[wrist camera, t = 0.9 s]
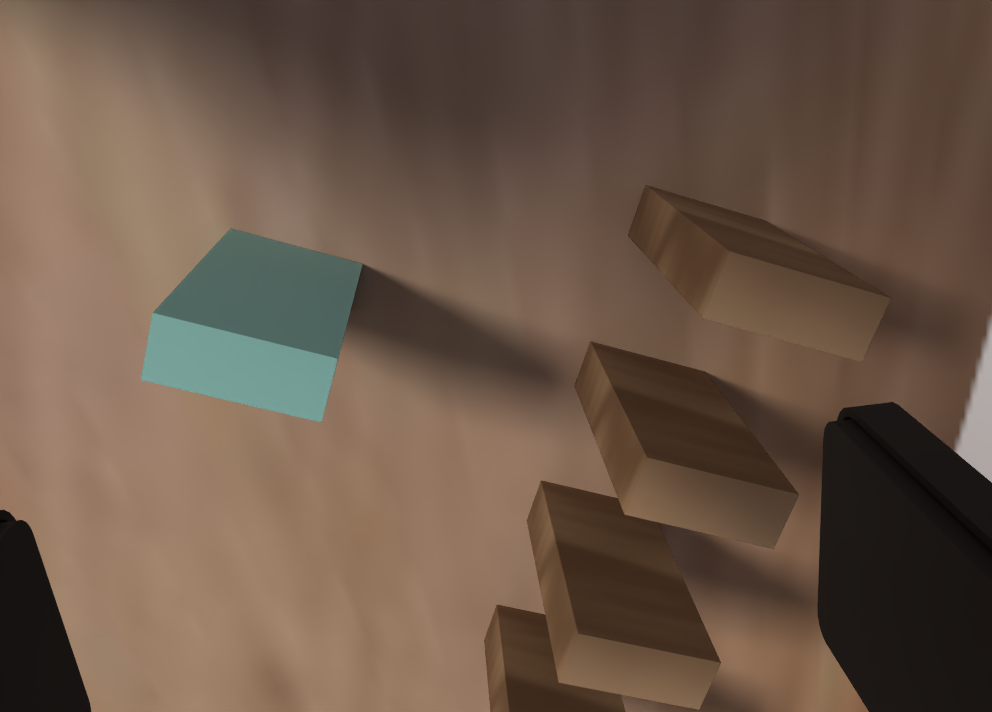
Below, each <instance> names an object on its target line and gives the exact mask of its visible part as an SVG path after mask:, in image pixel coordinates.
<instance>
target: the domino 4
mask: <svg viewBox="0 0 992 712" xmlns="http://www.w3.org/2000/svg"><path fill="white" fill-rule="evenodd" d="M527 523H528V528H529V533H530V538H531V543H532V549H533V554H534V559H535V564H536V569H537V574H538V579H539V584H540V590H541V595H542V600H543V605H544V610H545V615H546V620H547V625H548V630H549V636H550V641H551V646H552V651H553V656H554V661H555V666H556V671H557V677H558V682H559V683H564V684H569V685H574V686H579V687H584V688H589V689H594V690H600V691H605V692H610V693H615V694H620V695H625V696H630V697H636V698H641V699H646V700H651V701H656V702H661V703H667V704H672V705H677V706H682V707H687V708H692V709H697V710H699V709H700V707H701V705H702V702H703V700H704V698H705V696H706V694H707V692H708V690H709V687H710V685H711V683H712V681H713V679H714V677H715V675H716V672H717V670H718V668H719V666H720V664H721V662H720V660H719V657H718V655H717V653H716V651H715V648H714V646H713V644H712V642H711V640H710V637H709V635H708V633H707V631H706V628H705V626H704V624H703V622H702V620H701V617H700V615H699V613H698V611H697V609H696V606H695V604H694V602H693V600H692V597H691V595H690V593H689V591H688V589H687V586H686V584H685V582H684V580H683V577H682V575H681V573H680V571H679V569H678V566H677V564H676V562H675V560H674V558H673V555H672V553H671V551H670V549H669V546H668V544H667V542H666V540H665V538H664V535H663V533H662V531H661V529H660V527H659V524H658V522H654V521H650V520H646V519H641V518H637V517H633V516H628V515H625V514H624V512H623V509H622V507H621V504H620V502H619V499H617V498H613V497H609V496H605V495H600V494H596V493H592V492H587V491H583V490H579V489H575V488H570V487H566V486H562V485H557V484H553V483H549V482H545V481H541V482H540V485H539V488H538V491H537V494H536V496H535V499H534V502H533V505H532V508H531V510H530V513H529V516H528V519H527Z"/></svg>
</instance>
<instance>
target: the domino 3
mask: <svg viewBox="0 0 992 712" xmlns="http://www.w3.org/2000/svg"><path fill="white" fill-rule="evenodd" d="M575 388H576V391H577V393H578V396H579V399H580V401H581V404H582V406H583V409H584V411H585V414H586V417H587V419H588V422H589V424H590V427H591V430H592V432H593V435H594V437H595V440H596V442H597V445H598V448H599V450H600V453H601V455H602V458H603V460H604V463H605V466H606V468H607V471H608V473H609V476H610V478H611V481H612V484H613V486H614V489H615V491H616V494H617V496H618V499H619V502H620V504H621V507H622V509H623V512H624V514H625V515H628V516H633V517H637V518H641V519H646V520H650V521H654V522H659V523H663V524H667V525H672V526H676V527H680V528H685V529H689V530H693V531H698V532H702V533H706V534H711V535H715V536H719V537H723V538H728V539H732V540H736V541H741V542H745V543H749V544H754V545H758V546H762V547H767V548H771V549H774V547H775V545H776V543H777V541H778V539H779V537H780V534H781V532H782V530H783V528H784V526H785V524H786V522H787V520H788V517H789V515H790V513H791V511H792V509H793V507H794V505H795V502H796V500H797V498H798V496H799V494H798V493H797V491H796V490H795V489H794V487H793V486H792V485H791V483H790V482H789V481H788V480H787V478H786V477H785V476H784V474H783V473H782V472H781V470H780V469H779V468H778V466H777V465H776V464H775V463H774V461H773V460H772V459H771V457H770V456H769V455H768V453H767V452H766V451H765V450H764V448H763V447H762V446H761V444H760V443H759V442H758V440H757V439H756V438H755V436H754V435H753V434H752V433H751V431H750V430H749V429H748V427H747V426H746V425H745V423H744V422H743V421H742V420H741V418H740V417H739V416H738V414H737V413H736V412H735V410H734V409H733V408H732V406H731V405H730V404H729V403H728V401H727V400H726V399H725V397H724V396H723V395H722V393H721V392H720V391H719V390H718V388H717V387H716V386H715V384H714V383H713V382H712V380H711V379H710V378H709V376H708V375H707V374H706V373H705V372H704V371H700V370H696V369H692V368H689V367H685V366H681V365H677V364H674V363H670V362H666V361H662V360H658V359H655V358H651V357H647V356H643V355H639V354H636V353H632V352H628V351H624V350H621V349H617V348H613V347H609V346H605V345H602V344H598V343H594V342H590V344H589V347H588V350H587V353H586V355H585V358H584V361H583V364H582V367H581V369H580V372H579V375H578V378H577V381H576V383H575Z"/></svg>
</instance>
